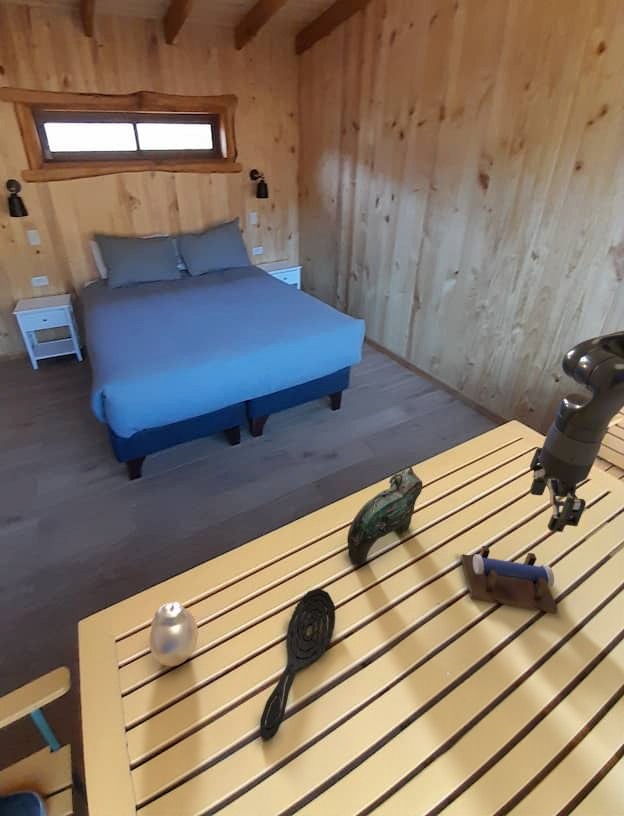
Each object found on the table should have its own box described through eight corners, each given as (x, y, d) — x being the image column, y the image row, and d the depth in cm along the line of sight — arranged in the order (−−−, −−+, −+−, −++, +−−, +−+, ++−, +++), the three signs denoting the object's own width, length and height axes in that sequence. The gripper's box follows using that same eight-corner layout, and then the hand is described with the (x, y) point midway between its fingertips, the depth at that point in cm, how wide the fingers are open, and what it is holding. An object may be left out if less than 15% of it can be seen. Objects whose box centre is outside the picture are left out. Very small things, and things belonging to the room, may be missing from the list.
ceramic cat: (399, 512, 102) (410, 453, 93) (420, 531, 97) (434, 470, 88) (340, 552, 93) (347, 490, 84) (360, 575, 88) (370, 512, 79)
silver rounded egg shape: (203, 619, 80) (198, 589, 76) (196, 675, 72) (190, 646, 68) (158, 619, 81) (151, 589, 76) (146, 676, 72) (137, 646, 68)
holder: (537, 570, 88) (547, 550, 85) (556, 613, 80) (567, 593, 77) (460, 558, 91) (466, 538, 88) (470, 598, 83) (477, 578, 80)
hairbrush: (241, 715, 65) (306, 577, 83) (242, 724, 67) (305, 587, 85) (286, 750, 61) (343, 598, 80) (286, 759, 63) (342, 608, 81)
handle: (543, 569, 84) (549, 562, 82) (549, 588, 81) (556, 582, 79) (471, 558, 86) (476, 551, 84) (475, 576, 84) (479, 569, 82)
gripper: (616, 481, 65) (584, 546, 72) (573, 424, 77) (549, 485, 85) (565, 476, 66) (538, 540, 74) (530, 421, 79) (510, 481, 86)
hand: (544, 510), depth 79 cm, fingers open, 8 cm apart
